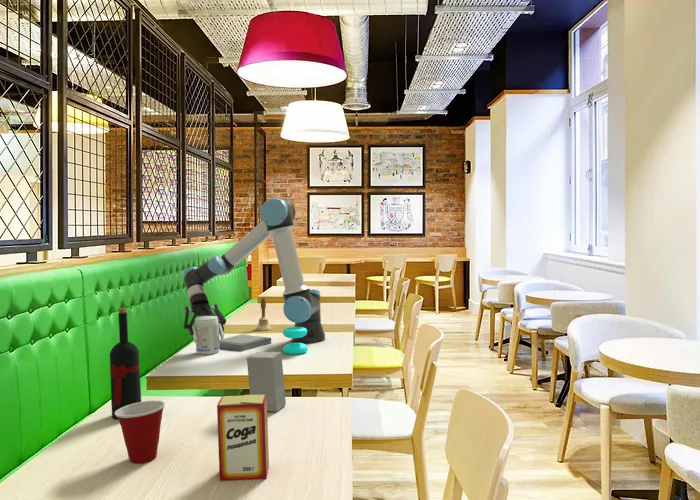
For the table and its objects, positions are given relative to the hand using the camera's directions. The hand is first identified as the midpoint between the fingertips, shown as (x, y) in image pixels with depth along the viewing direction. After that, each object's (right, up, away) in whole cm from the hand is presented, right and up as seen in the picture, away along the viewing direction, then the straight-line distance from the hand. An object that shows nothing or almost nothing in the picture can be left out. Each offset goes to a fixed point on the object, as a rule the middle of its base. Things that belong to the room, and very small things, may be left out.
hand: (209, 339), depth 247 cm
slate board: (+10, -5, +17) cm, 20 cm away
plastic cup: (+11, -11, -111) cm, 112 cm away
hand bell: (+14, -4, +56) cm, 58 cm away
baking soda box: (+36, -10, -121) cm, 127 cm away
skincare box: (+34, -9, -77) cm, 84 cm away
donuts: (+36, -5, -2) cm, 36 cm away
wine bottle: (-4, -10, -81) cm, 81 cm away
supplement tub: (-1, -6, +3) cm, 7 cm away
